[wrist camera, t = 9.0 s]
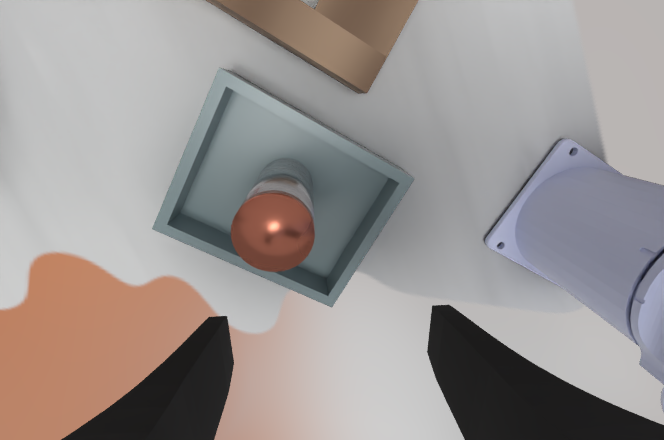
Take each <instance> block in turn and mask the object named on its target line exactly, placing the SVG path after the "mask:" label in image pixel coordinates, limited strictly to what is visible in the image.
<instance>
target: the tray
mask: <svg viewBox="0 0 664 440" xmlns="http://www.w3.org/2000/svg"><path fill="white" fill-rule="evenodd" d="M283 158H286V159H292V160H295V161H298V162H299V163H301V164H302V165H304V166H305V167H306V168H307V170H308V171H309V173H310V175H311V177H312V181H313V202H314V228H315V239H314V244H313V247H312V249H311V251H310V253H309V255H308V256H307V257H306V258H305V260H304V261H302V262H301V263H300V264H299V265H297V266H295V267H293V268H291V269H289V270H285V271H280V272H268V271H263V270H259V269H257V268H254V267H253V266H251V265H249V264H248V263H246V262H245V261H244V260H243V259H242V258H241V257H240V256H239V255H238V253H237V252H236V250H235V248H234V246H233V243H232V240H231V225H232V221H233V219H234V216H235V215H236V213H237V211H238V210H239V208H240V206H241V205H242V203H243V202H244V200H245V198H246V197H247V195H248V193H249V192H250V190H251V188H252V187H253V185H254V183H255V182H256V180H257V178H258V177H259V175H260V174H261V172H262V170H263V169H264V168H265V166H267V165H268V164H269V163H270V162H272V161H274V160H277V159H283ZM413 181H414V178H413V177H412V176H410V175H409V174H408V173H407V172H405V171H404V170H403V169H401V168H399V167H398V166H396V165H394V164H392V163H391V162H389V161H387V160H385V159H384V158H382V157H380V156H378V155H377V154H375V153H373V152H371V151H370V150H368V149H366V148H365V147H363V146H361V145H359V144H358V143H356V142H354V141H352V140H351V139H349V138H347V137H345V136H344V135H342V134H340V133H338V132H337V131H335V130H333V129H331V128H330V127H328V126H326V125H324V124H323V123H321V122H319V121H317V120H316V119H314V118H312V117H310V116H309V115H307V114H305V113H303V112H302V111H300V110H298V109H296V108H295V107H293V106H291V105H289V104H288V103H286V102H284V101H282V100H281V99H279V98H277V97H275V96H274V95H272V94H270V93H268V92H267V91H265V90H263V89H261V88H260V87H258V86H256V85H254V84H253V83H251V82H249V81H247V80H246V79H244V78H242V77H240V76H239V75H237V74H235V73H233V72H232V71H229V70H226V69H222V68H219V69H218V72H217V74H216V76H215V79H214V81H213V84H212V86H211V88H210V91H209V93H208V96H207V98H206V100H205V103H204V105H203V108H202V110H201V113H200V115H199V117H198V120H197V122H196V125H195V127H194V129H193V132H192V134H191V137H190V139H189V141H188V144H187V146H186V149H185V151H184V154H183V156H182V158H181V161H180V163H179V166H178V168H177V170H176V173H175V175H174V178H173V180H172V182H171V185H170V187H169V190H168V192H167V195H166V197H165V199H164V202H163V204H162V207H161V209H160V211H159V214H158V216H157V219H156V221H155V223H154V226H153V228H152V229H153V230H155V231H158V232H160V233H162V234H165V235H167V236H169V237H172V238H174V239H176V240H178V241H181V242H183V243H185V244H188V245H190V246H192V247H194V248H197V249H199V250H201V251H204V252H206V253H208V254H211V255H213V256H215V257H217V258H220V259H222V260H224V261H227V262H229V263H231V264H233V265H236V266H238V267H240V268H243V269H245V270H247V271H249V272H252V273H254V274H256V275H259V276H261V277H263V278H266V279H268V280H270V281H272V282H275V283H277V284H279V285H282V286H284V287H286V288H288V289H291V290H293V291H296V292H298V293H300V294H302V295H305V296H307V297H309V298H311V299H314V300H316V301H318V302H321V303H323V304H325V305H327V306H330V307H333V305H334V303H335V302H336V300H337V299H338V297H339V296H340V294H341V293H342V291H343V289H344V288H345V286H346V285H347V283H348V282H349V280H350V279H351V277H352V275H353V274H354V272H355V271H356V269H357V268H358V266H359V265H360V263H361V261H362V260H363V258H364V257H365V255H366V254H367V252H368V251H369V249H370V247H371V246H372V244H373V243H374V241H375V240H376V238H377V237H378V235H379V233H380V232H381V230H382V229H383V227H384V226H385V224H386V223H387V221H388V219H389V218H390V216H391V215H392V213H393V212H394V210H395V209H396V207H397V205H398V204H399V202H400V201H401V199H402V198H403V196H404V195H405V193H406V191H407V190H408V188H409V187H410V185H411V184H412V182H413Z"/></svg>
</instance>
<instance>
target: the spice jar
mask: <svg viewBox="0 0 664 440" xmlns="http://www.w3.org/2000/svg"><path fill="white" fill-rule="evenodd" d="M314 239H315V228H314V202H313V181H312V177H311V175H310V173H309V171H308V170H307V168H306V167H305V166H304V165H302V164H301V163H299V162H298V161H295V160H292V159H286V158H283V159H277V160H274V161H272V162H270V163H269V164H268V165H267V166H265V168H264V169H263V170H262V172H261V174H260V175H259V177H258V178H257V180H256V182H255V183H254V185H253V187H252V188H251V190H250V192H249V193H248V195H247V197H246V198H245V200H244V202H243V203H242V205H241V206H240V208H239V210H238V211H237V213H236V215H235V216H234V219H233V221H232V225H231V240H232V243H233V246H234V248H235V250H236V252H237V253H238V255H239V256H240V257H241V258H242V259H243V260H244V261H245V262H246V263H248V264H249V265H251V266H253V267H254V268H257V269H259V270H263V271H268V272H280V271H285V270H289V269H291V268H293V267H295V266H297V265H299V264H300V263H301V262H302V261H304V260H305V258H306V257H307V256H308V255H309V253H310V251H311V249H312V247H313V244H314Z"/></svg>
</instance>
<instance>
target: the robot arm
mask: <svg viewBox="0 0 664 440" xmlns="http://www.w3.org/2000/svg"><path fill="white" fill-rule="evenodd" d="M572 148H573V152H572V153H571V154H569V151H570V150H571V149H572ZM500 242H502V243H501V245H500V246H499V247H497V245H498V243H500ZM485 244H486V245H487V246H488V247H489V248H490V249H492V250H494V251H496V252H498V253H499V254H501V255H503V256H505V257H507V258H509V259H510V260H512V261H514V262H516V263H518V264H520V265H521V266H523V267H525V268H527V269H529V270H530V271H532V272H534V273H536V274H538V275H540V276H541V277H543V278H545V279H547V280H549V281H551V282H552V283H554V284H556V285H558V286H560V287H562V288H563V289H565V290H566V291H567V292H569V293H570V294H571V295H573V296H574V297H575V298H577V299H578V300H579V301H580V302H582V303H583V304H584V305H586V306H587V307H588V308H590V309H591V310H592V311H594V312H595V313H596V314H598V315H599V316H600V317H601V318H603V319H604V320H606V321H607V322H608V323H609V324H611V325H612V326H613V327H615V328H616V329H617V330H619V331H620V332H621V333H622V334H624V335H625V336H626V337H628V338H629V339H630V340H632V341H633V342H634V343H636V344H637V345H638V346H639V347H640V349H641V359H640V363H639V364H640V366H642V367H643V368H644V369H645V370H647V371H648V372H649V373H650V374H651V375H653V376H654V377H655V378H656V379H658V380H659V381H660V382H661V383H662V384H664V186H663V185H659V184H656V183H651V182H648V181H644V180H640V179H636V178H632V177H628V176H624V175H622V174H621V173H620V172H618V171H617V170H615V169H614V168H612V167H611V166H609V165H608V164H606V163H605V162H604V161H602V160H601V159H599V158H598V157H596V156H595V155H593V154H592V153H590V152H589V151H588V150H586V149H585V148H583V147H582V146H580V145H579V144H577V143H576V142H575V141H573V140H571V139H562V140H560V141H559V142H558V143H557V144H556V146H555V147H554V148H553V150H552V151H551V152H550V154H549V155H548V156H547V158H546V159H545V160H544V162H543V163H542V164H541V166H540V167H539V168H538V170H537V171H536V172H535V174H534V175H533V176H532V178H531V179H530V180H529V182H528V183H527V184H526V186H525V187H524V188H523V190H522V191H521V192H520V193H519V195H518V196H517V197H516V199H515V200H514V201H513V203H512V204H511V205H510V207H509V208H508V209H507V211H506V212H505V213H504V215H503V216H502V217H501V219H500V220H499V221H498V223H497V224H496V225H495V227H494V228H493V229H492V231H491V232H490V233H489V235H488V236H487V237H486V239H485ZM427 352H428V356H429V359H430V362H431V365H432V368H433V371H434V374H435V377H436V380H437V382H438V384H439V386H440V388H441V390H442V392H443V394H444V397H445V399H446V401H447V403H448V405H449V407H450V410H451V412H452V413H453V416H454V418H455V420H456V422H457V424H458V426H459V428H460V430H461V433H462V434H463V437H464V439H465V440H664V425H662V424H659V423H656V422H654V421H651V420H649V419H646V418H644V417H642V416H639V415H637V414H634V413H632V412H629V411H627V410H625V409H622V408H620V407H618V406H615V405H613V404H611V403H609V402H606V401H604V400H602V399H599V398H598V397H596V396H593V395H591V394H589V393H587V392H585V391H583V390H581V389H579V388H577V387H575V386H573V385H571V384H569V383H567V382H565V381H563V380H562V379H560V378H558V377H556V376H554V375H553V374H551V373H549V372H547V371H546V370H544V369H542V368H540V367H538V366H537V365H535V364H533V363H532V362H530V361H528V360H527V359H525V358H524V357H522V356H521V355H519V354H517V353H516V352H515V351H513V350H511V349H510V348H508V347H507V346H506V345H504V344H503V343H501V342H500V341H498V340H497V339H495V338H494V337H493V336H491V335H490V334H488V333H487V332H486V331H484V330H483V329H482V328H480V327H479V326H477V325H476V324H475V323H473V322H472V321H471V320H469V319H468V318H467V317H465V316H464V315H463V314H461V313H460V312H459V311H457V310H456V309H454V308H453V307H451V306H450V305H438V306H432V314H431V323H430V332H429V341H428V351H427ZM233 365H234V360H233V354H232V347H231V340H230V333H229V326H228V319H227V316H218V317H209V318H208V319H207V320H205V321H204V323H203V324H201V326H199V327H198V329H196V331H195V332H194V333H193V334H192V335H191V336H190V337H189V338H188V339H187V340H186V341H185V342H184V343H183V344H182V345H181V346H180V347H179V348H178V349H177V350H176V351H175V352H174V353H172V354H171V355H170V356H169V357H168V358H167V359H166V360H165V361H164V362H163V363H162V364H161V365H160V366H159V367H157V368H156V369H155V370H154V371H153V372H152V373H151V374H150V375H149V376H148V377H146V378H145V379H144V380H143V381H142V382H141V383H139V384H138V385H137V386H136V387H134V388H133V389H132V390H131V391H130V392H128V393H127V394H126V395H124V396H123V397H122V398H121V399H119V400H118V401H117V402H115V403H114V404H113V405H111V406H110V407H109V408H107V409H106V410H105V411H103V412H102V413H100V414H99V415H97V416H96V417H94V418H93V419H92V420H90V421H88V422H87V423H86V424H84V425H83V426H81V427H80V428H78V429H77V430H76V431H74V432H72V433H71V434H70V435H68V436H66V437H65V438H63V439H62V440H214V438H215V435H216V431H217V428H218V425H219V422H220V419H221V415H222V412H223V409H224V405H225V402H226V399H227V396H228V392H229V387H230V382H231V377H232V371H233ZM661 405H662V409H663V412H664V387H663V390H662V392H661Z"/></svg>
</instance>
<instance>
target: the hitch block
mask: <svg viewBox="0 0 664 440" xmlns="http://www.w3.org/2000/svg"><path fill="white" fill-rule="evenodd" d="M206 1H208V2H210V3H211V4H213V5H214V6H216V7H218V8H219V9H221V10H223V11H224V12H226V13H228V14H229V15H231V16H232V17H234V18H236V19H237V20H239V21H241V22H242V23H244V24H246V25H247V26H249V27H250V28H252V29H254V30H255V31H257V32H259V33H260V34H262V35H264V36H265V37H267V38H268V39H270V40H272V41H273V42H275V43H277V44H278V45H280V46H282V47H283V48H285V49H286V50H288V51H290V52H291V53H293V54H295V55H296V56H298V57H300V58H301V59H303V60H304V61H306V62H308V63H309V64H311V65H313V66H314V67H316V68H318V69H319V70H321V71H322V72H324V73H326V74H327V75H329V76H331V77H332V78H334V79H336V80H337V81H339V82H340V83H342V84H344V85H345V86H347V87H349V88H350V89H352V90H354V91H355V92H357V93H367V92H368V90H369V89H370V87H371V85H372V83H373V81H374V80H375V78H376V76H377V74H378V72H379V71H380V69H381V67H382V65H383V63H384V62H385V60H386V58H387V56H388V54H389V52H390V51H391V49H392V47H393V45H394V43H395V42H396V40H397V38H398V36H399V34H400V33H401V31H402V29H403V27H404V25H405V24H406V22H407V20H408V18H409V16H410V15H411V13H412V11H413V9H414V7H415V5H416V4H417V2H418V0H319V2H318V4H317V6H316V8H315V10H314V9H313V8H311V7H310V6H308V5H307V4H305V3H304V2H302V1H301V0H206Z"/></svg>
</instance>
